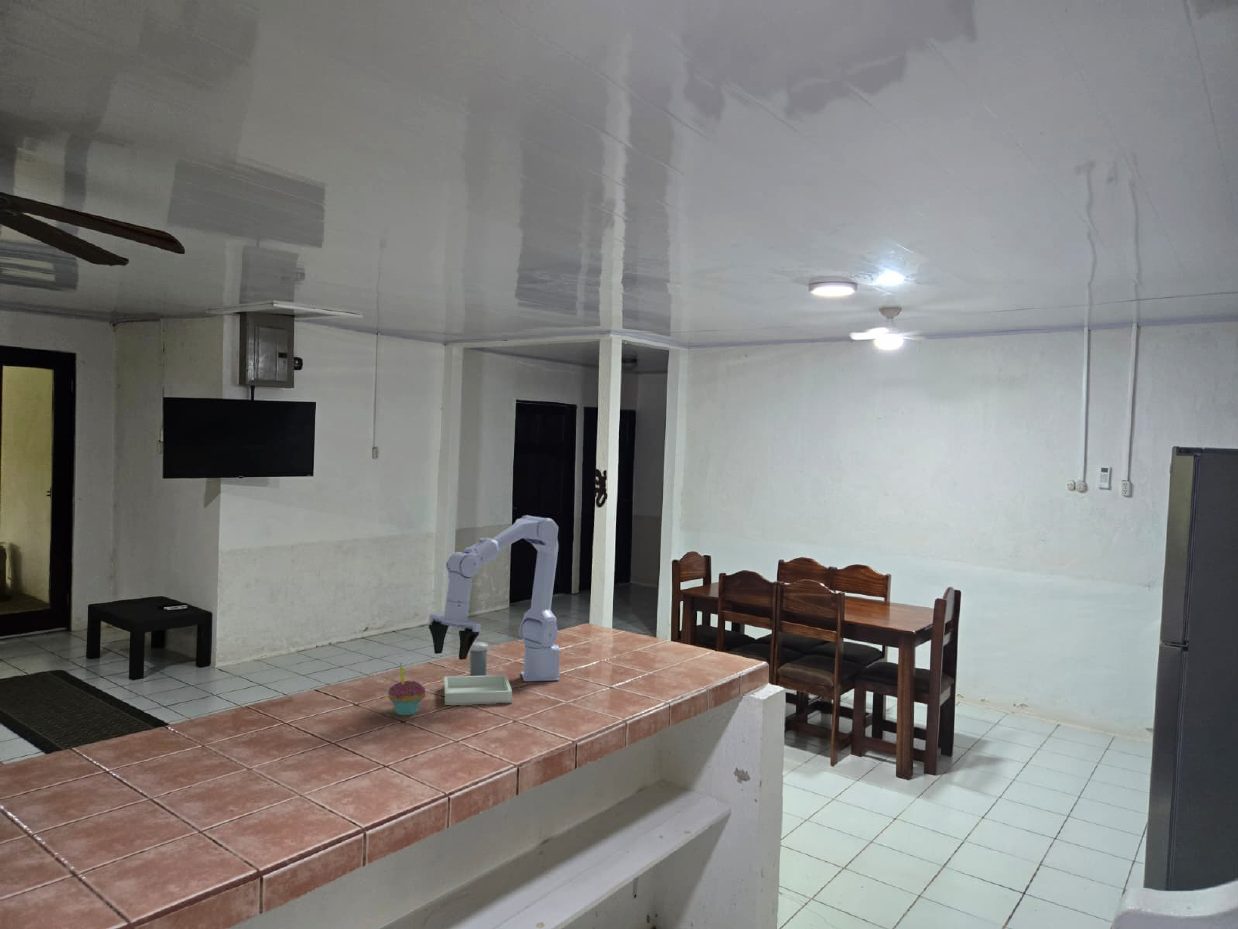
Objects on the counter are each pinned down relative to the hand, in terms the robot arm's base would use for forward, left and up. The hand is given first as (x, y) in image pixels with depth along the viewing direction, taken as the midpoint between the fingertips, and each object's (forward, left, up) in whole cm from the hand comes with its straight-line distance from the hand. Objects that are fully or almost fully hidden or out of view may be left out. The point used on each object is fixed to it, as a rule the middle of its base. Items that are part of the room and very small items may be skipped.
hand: (450, 656), depth 202 cm
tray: (-7, -2, -11) cm, 13 cm away
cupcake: (+10, +8, -11) cm, 17 cm away
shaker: (-8, -15, -11) cm, 20 cm away
